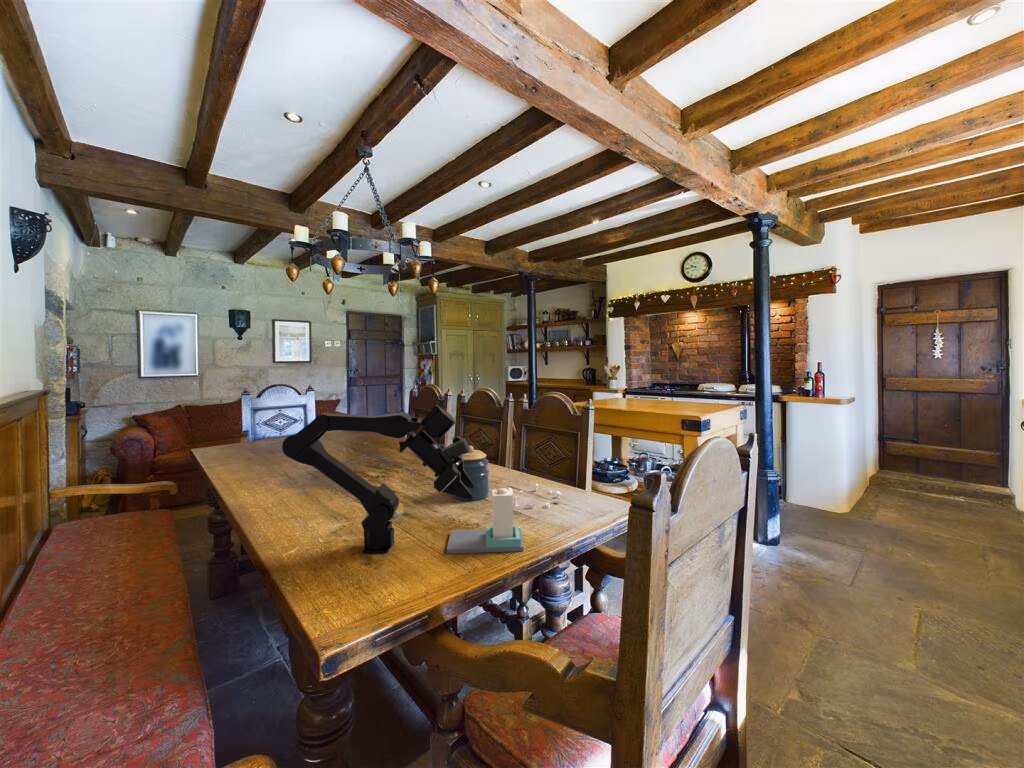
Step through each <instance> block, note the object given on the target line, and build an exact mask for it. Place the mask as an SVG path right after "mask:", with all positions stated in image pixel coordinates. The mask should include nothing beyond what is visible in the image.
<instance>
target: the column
mask: <svg viewBox="0 0 1024 768" xmlns="http://www.w3.org/2000/svg"><path fill="white" fill-rule="evenodd" d="M511 489H512V488H511ZM511 489H508V488H505V487H499V488H497V489H492V490H491V491H492V492H491V493H492V526H493V538H513V526H514V521H513V519H514V518H513V517H514V511H513V509H514V506H513V504H514V503H513V502H514V501H513V500H514V496H513V494H512V492H513V491H512V490H513V489H512V490H511Z"/></svg>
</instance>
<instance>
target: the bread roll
mask: <svg viewBox="0 0 1024 768" xmlns="http://www.w3.org/2000/svg"><path fill="white" fill-rule="evenodd" d="M403 512H404V505H403V503H402V502H401V501H400V500H399V507H398V508H397V510H396V512H395V514H394V515H393V517H392V518H391V519H393V518H397V517H399V516H401V515H402V514H403Z"/></svg>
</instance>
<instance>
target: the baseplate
mask: <svg viewBox="0 0 1024 768" xmlns="http://www.w3.org/2000/svg"><path fill="white" fill-rule="evenodd" d="M503 552H505V553H507V552H524V542H523V536H522V531H521V527H519V525H513V538H493V525H492V526H490V525H489V526H488V525H487V526H486V527H485V528H478V529H477V528H475V529H473V528H469V529H468V528H467V529H451V530H450V534H449V538H448V543H447V546H446V554H470V553H472V554H473V553H503Z"/></svg>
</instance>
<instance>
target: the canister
mask: <svg viewBox="0 0 1024 768" xmlns="http://www.w3.org/2000/svg"><path fill="white" fill-rule="evenodd" d="M469 448H470V449H469V450H470V451H469V452H468V453H466V454H462V455H461V456H462V459H461V460H464V461H463V468H464V470H465V471H466V473H467V475H468V476H469V478H470V479H471V481H472V482H473V484H474V487H473V488H472V489H471V488H469V487H466V488H467V489H468V490H469V491H470V493H471V494H472V495H473V498H472V499H471V500H468V499H465V498H462V497H459V496H455V495H452V497H453V498H454V499H456V500H459V501H466V502H468V501H469V502H470V501H471V502H472V501H478V500H482V499H483V500H484V499H485V498H487V497H488V496H489V492H490V485H489V483H490V481H489V472H490V471H489V468H488V465H489V460H488V459H487V454H486V453H485V452H483V451H482V450H480V449H479V450H478V449H474V446H473V445H469ZM461 460H459V461H458V462H460V461H461Z"/></svg>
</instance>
